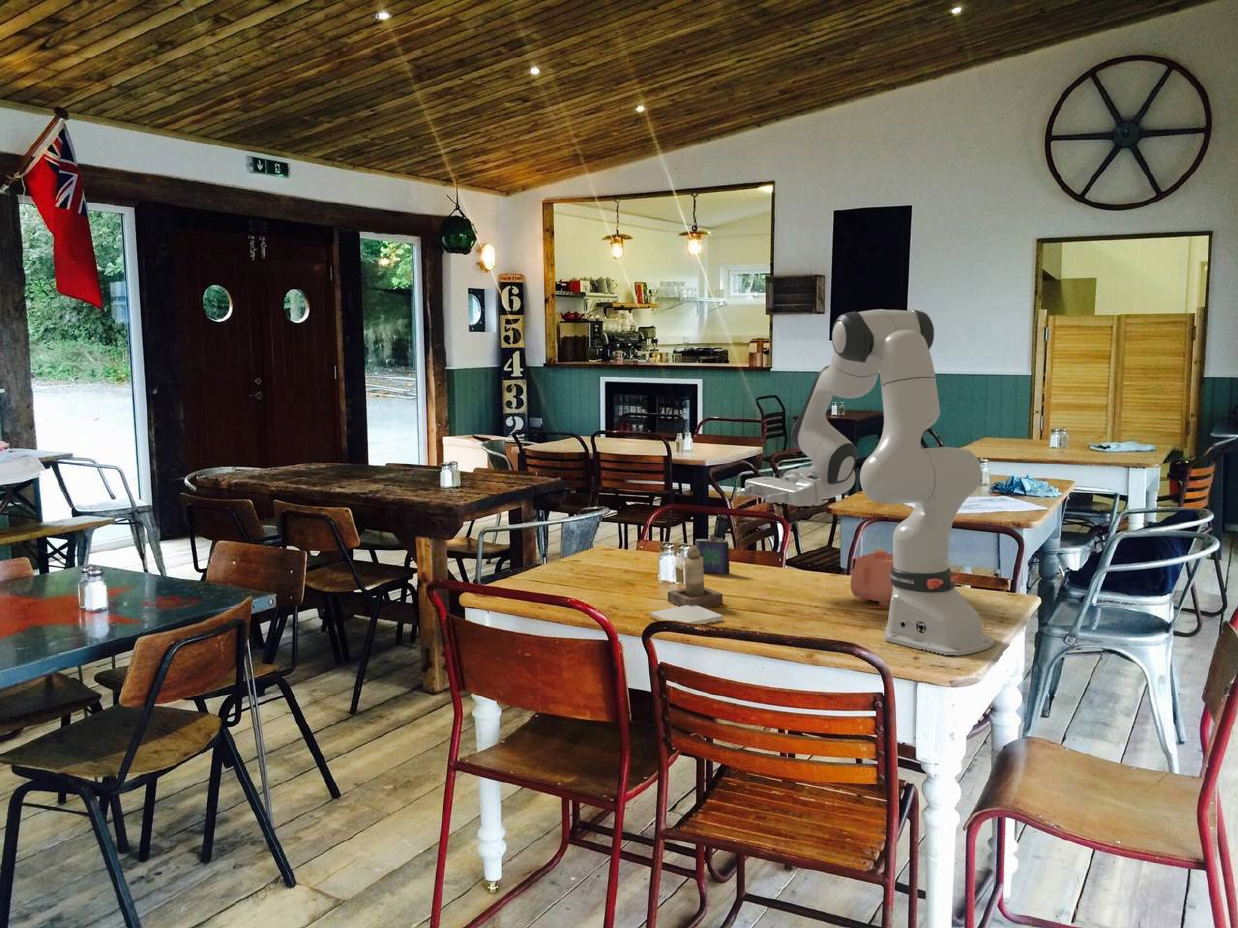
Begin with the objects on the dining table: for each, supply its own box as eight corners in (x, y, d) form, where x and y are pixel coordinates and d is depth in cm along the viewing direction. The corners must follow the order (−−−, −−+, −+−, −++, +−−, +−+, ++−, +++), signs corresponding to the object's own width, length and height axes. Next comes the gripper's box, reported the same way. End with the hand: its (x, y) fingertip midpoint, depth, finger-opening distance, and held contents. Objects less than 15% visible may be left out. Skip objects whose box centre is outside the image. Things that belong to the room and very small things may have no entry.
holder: (722, 604, 244) (722, 593, 244) (689, 610, 240) (688, 600, 239) (700, 595, 252) (700, 585, 252) (668, 601, 248) (667, 591, 247)
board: (722, 620, 231) (722, 615, 230) (677, 630, 225) (677, 624, 225) (693, 608, 241) (693, 603, 241) (649, 617, 235) (649, 612, 235)
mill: (707, 603, 245) (706, 547, 243) (692, 606, 243) (690, 550, 241) (697, 599, 249) (696, 544, 247) (682, 602, 247) (680, 546, 245)
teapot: (879, 613, 232) (878, 561, 230) (836, 604, 240) (835, 553, 239) (928, 595, 244) (928, 546, 243) (886, 587, 253) (886, 539, 252)
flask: (694, 572, 275) (693, 533, 274) (698, 570, 278) (697, 531, 276) (727, 575, 271) (727, 535, 270) (731, 572, 274) (730, 533, 272)
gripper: (770, 468, 262) (727, 477, 255) (826, 480, 245) (781, 489, 238) (771, 492, 263) (728, 501, 256) (826, 506, 246) (782, 516, 239)
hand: (754, 496), depth 247 cm, fingers open, 8 cm apart
